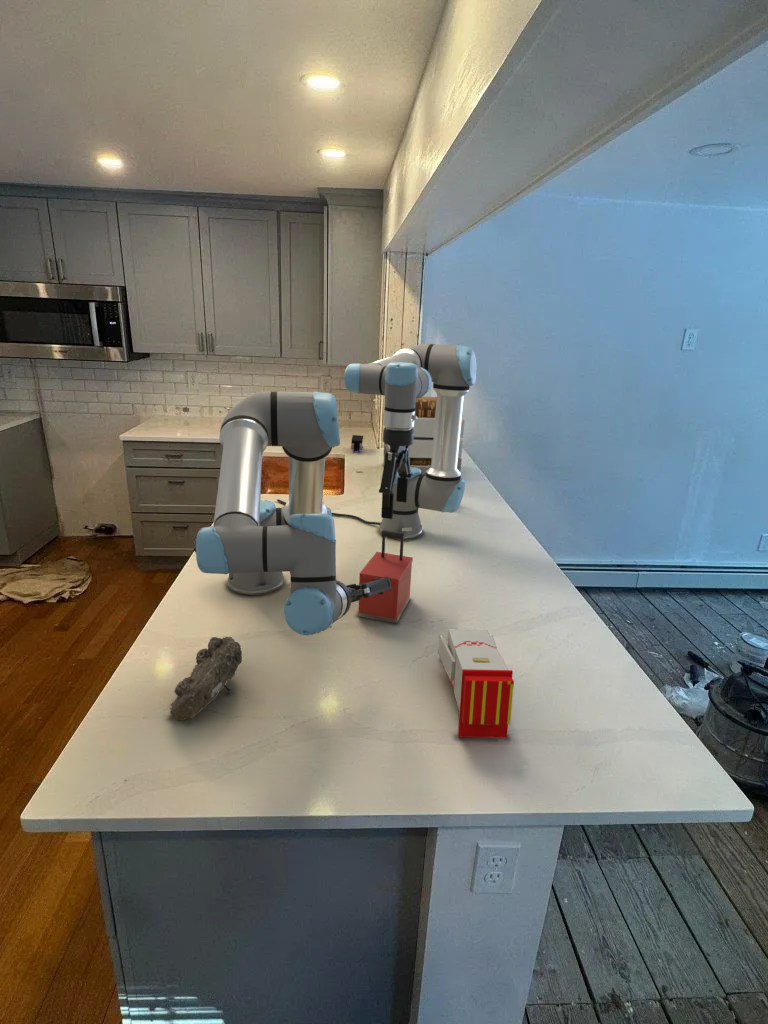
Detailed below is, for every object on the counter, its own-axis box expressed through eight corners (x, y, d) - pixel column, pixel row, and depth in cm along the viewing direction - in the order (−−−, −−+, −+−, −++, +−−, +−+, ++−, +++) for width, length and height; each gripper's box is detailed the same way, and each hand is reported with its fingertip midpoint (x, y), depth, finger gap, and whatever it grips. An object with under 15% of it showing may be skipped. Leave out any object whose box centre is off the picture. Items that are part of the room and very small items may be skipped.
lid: (376, 555, 155) (377, 525, 152) (412, 561, 152) (414, 530, 149) (359, 577, 142) (360, 544, 139) (398, 584, 139) (400, 550, 136)
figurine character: (362, 456, 306) (363, 447, 319) (363, 443, 302) (363, 434, 316) (350, 456, 306) (351, 446, 319) (350, 442, 302) (351, 433, 316)
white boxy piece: (382, 463, 289) (386, 382, 275) (445, 464, 293) (451, 384, 279) (390, 482, 257) (394, 392, 243) (460, 483, 261) (468, 394, 247)
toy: (488, 613, 130) (523, 677, 101) (484, 667, 133) (517, 744, 104) (435, 612, 130) (455, 676, 101) (432, 666, 133) (451, 743, 103)
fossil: (193, 639, 125) (242, 608, 120) (224, 667, 128) (272, 638, 123) (147, 714, 105) (202, 680, 100) (184, 746, 108) (239, 715, 103)
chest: (374, 592, 158) (375, 556, 154) (409, 599, 155) (411, 562, 152) (358, 616, 146) (359, 577, 142) (396, 623, 143) (398, 584, 139)
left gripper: (268, 637, 104) (300, 620, 125) (398, 606, 101) (409, 594, 122) (258, 597, 105) (292, 586, 126) (388, 565, 102) (400, 560, 123)
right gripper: (400, 439, 127) (395, 527, 134) (425, 420, 149) (419, 497, 156) (368, 436, 129) (365, 523, 136) (397, 418, 151) (393, 493, 158)
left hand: (350, 590), depth 124 cm, fingers open, 13 cm apart
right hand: (394, 509), depth 146 cm, fingers open, 13 cm apart
